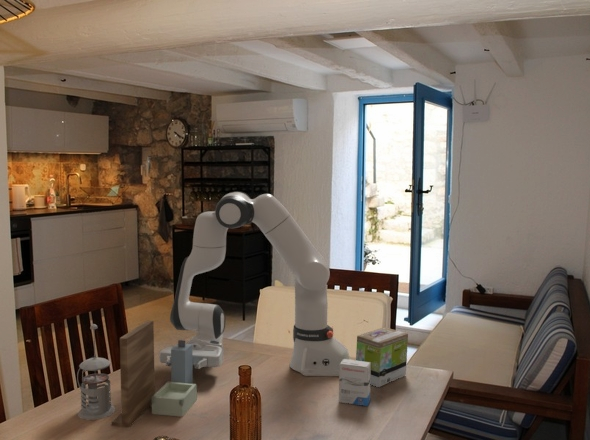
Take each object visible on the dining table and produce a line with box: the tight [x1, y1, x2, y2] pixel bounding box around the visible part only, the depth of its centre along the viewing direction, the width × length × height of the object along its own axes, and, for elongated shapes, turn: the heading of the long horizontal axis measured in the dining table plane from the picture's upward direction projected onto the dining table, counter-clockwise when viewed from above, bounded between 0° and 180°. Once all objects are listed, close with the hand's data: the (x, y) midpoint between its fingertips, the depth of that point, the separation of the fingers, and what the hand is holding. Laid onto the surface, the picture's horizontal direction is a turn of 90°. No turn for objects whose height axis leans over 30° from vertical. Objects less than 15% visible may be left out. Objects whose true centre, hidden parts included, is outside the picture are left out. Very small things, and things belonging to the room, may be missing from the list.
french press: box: [76, 323, 115, 421], centre depth 155 cm, size 10×12×25 cm
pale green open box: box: [151, 381, 198, 418], centre depth 159 cm, size 9×11×5 cm
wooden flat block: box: [111, 320, 156, 428], centre depth 154 cm, size 5×16×24 cm, turn 170°
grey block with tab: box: [170, 339, 194, 384], centre depth 171 cm, size 4×6×15 cm
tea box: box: [355, 326, 409, 388], centre depth 181 cm, size 15×10×15 cm, turn 135°
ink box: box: [338, 358, 371, 407], centre depth 163 cm, size 8×5×12 cm, turn 71°
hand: (182, 365), depth 172 cm, fingers open, 8 cm apart
